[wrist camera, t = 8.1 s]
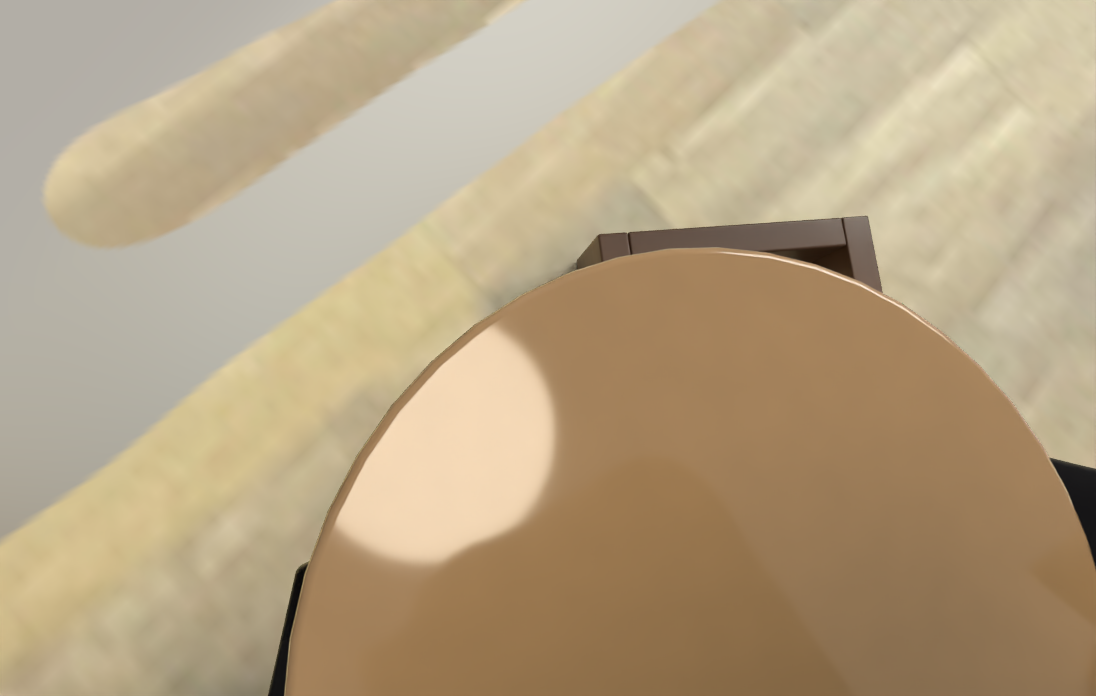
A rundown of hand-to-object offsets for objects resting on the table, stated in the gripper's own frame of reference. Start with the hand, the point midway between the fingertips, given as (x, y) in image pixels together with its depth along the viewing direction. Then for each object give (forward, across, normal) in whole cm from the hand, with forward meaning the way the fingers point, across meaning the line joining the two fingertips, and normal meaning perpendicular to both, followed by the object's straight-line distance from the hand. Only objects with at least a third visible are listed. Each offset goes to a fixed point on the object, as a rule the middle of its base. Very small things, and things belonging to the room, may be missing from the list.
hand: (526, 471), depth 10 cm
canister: (+4, 0, +6) cm, 7 cm away
